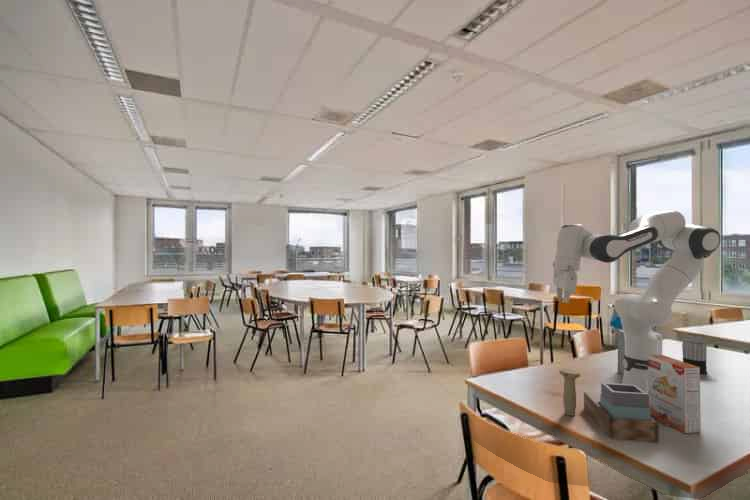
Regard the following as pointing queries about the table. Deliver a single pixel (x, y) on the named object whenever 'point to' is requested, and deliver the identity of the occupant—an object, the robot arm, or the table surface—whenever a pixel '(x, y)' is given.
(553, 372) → the table surface
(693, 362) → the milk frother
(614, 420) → the bay
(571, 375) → the handle
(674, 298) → the robot arm
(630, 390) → the box
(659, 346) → the hard drive box
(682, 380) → the cracker box
